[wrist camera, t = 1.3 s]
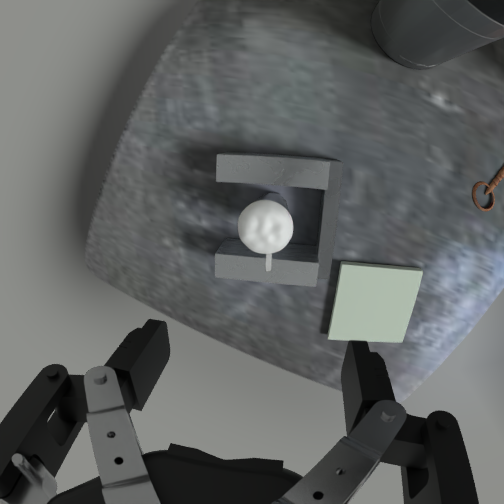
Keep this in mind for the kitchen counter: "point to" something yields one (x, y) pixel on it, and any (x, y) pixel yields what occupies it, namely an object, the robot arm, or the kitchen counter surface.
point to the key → (488, 189)
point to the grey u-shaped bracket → (292, 255)
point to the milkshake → (266, 225)
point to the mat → (373, 302)
